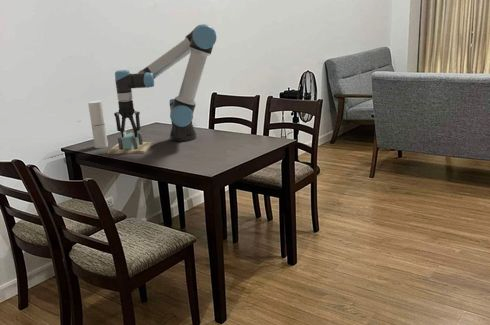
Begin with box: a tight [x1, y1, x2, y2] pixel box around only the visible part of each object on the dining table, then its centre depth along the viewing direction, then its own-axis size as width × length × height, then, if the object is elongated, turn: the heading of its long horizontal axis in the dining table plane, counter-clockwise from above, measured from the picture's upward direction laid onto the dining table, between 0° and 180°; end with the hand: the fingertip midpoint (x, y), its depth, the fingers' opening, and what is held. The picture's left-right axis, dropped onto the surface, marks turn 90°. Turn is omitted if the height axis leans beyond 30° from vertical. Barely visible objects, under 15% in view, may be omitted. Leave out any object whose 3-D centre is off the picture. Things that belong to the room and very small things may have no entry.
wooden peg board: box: [106, 132, 155, 155], centre depth 262 cm, size 20×18×7 cm
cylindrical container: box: [87, 100, 109, 149], centre depth 268 cm, size 7×7×25 cm
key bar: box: [121, 132, 139, 149], centre depth 262 cm, size 12×4×6 cm, turn 174°
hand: (130, 143), depth 262 cm, fingers closed on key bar, 4 cm apart
